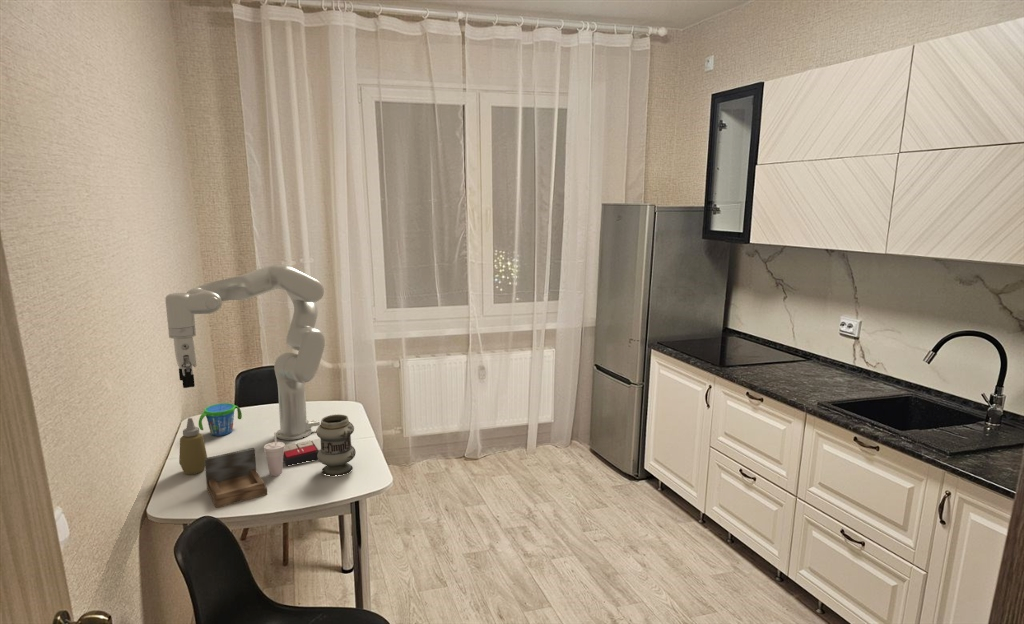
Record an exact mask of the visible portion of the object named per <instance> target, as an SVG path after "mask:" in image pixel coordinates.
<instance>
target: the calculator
mask: <svg viewBox="0 0 1024 624" xmlns="http://www.w3.org/2000/svg"><path fill="white" fill-rule="evenodd" d="M320 450H321V439H320V438H317V439H312V440H311V439H309V440H305V441H300V442H297V443H292V444H287V445H285V448H284V455H283V464H284V465H285V467H289V466H288V465H292V464H297V463H302V462H306V461H311V462H313V461H312V460H315V461H317V460H318V458H317V455H318V452H319V451H320ZM318 461H319V460H318ZM306 463H307V462H306ZM302 464H303V463H302ZM297 465H298V464H297ZM292 466H293V465H292Z"/></svg>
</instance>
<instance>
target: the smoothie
mask: <svg viewBox="0 0 1024 624" xmlns="http://www.w3.org/2000/svg"><path fill="white" fill-rule="evenodd" d="M276 432H277V431H276ZM276 432H274V433H273V434H274V441H273V442H269V443H266V444H264V446H263V452H264V453H265V457H266V461H267V467H268V473H269V476H270V477H278V476H281V475H282V474H283V467H284V466H283V465H284V461H283V455H284V448H285V446H286V444H285V442H282V441H278V439H277V436H276ZM281 473H282V474H281ZM280 474H281V475H280ZM277 475H278V476H277Z"/></svg>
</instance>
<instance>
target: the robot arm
mask: <svg viewBox="0 0 1024 624" xmlns="http://www.w3.org/2000/svg"><path fill="white" fill-rule="evenodd" d="M275 290H282V291H283V290H285V291H286V293H287V295H288V296H289V298H290V300H291V301H292V303H293V314H292V319H291V321H290V325H289V328H288V331H287V335H286V340H285V342H286V345H287V346H288V347H289V348H290V349H292V350H295V351H298V353H294V352H284V353H281V354H280V355H278V356H277V358H276V360H275V361H274V367H273V368H274V374H275V377H276V384H277V392H278V410H279V412H278V413H279V428H280V429H278V430H277V431H276V439H277V438H278V439H280V440H283V441H292V440H293V441H294V440H300V439H304V438H306V437H308V436H310V435H311V433H312V427H318V426H319V425H321V421H320V420H314V419H312V420H308V419H307V403H306V401H307V400H306V385H305V384H307V383H309V382H311V381H312V380H313V379H314V378H315V376H316V374H317V373H318V370H319V367H320V363H321V360H322V357H323V353H324V350H325V346H326V339H325V336H324V334H323V332H322V331H321V330H320V329H318V328H315V326H316V323H317V318H318V306H317V302H319V301H320V300H321V299H322V298H323V297H324V295H325V294H324V293H325V288H324V286H323V284H322V283H321V281H320V280H317V279H316V278H314V277H312V276H309V275H308V274H306V273H304V272H302V271H299V270H298V269H296V268H294V267H291V266H289V265H288V266H287V265H282V264H271V265H268V266H264V267H262V268H259V269H256V270H253V271H250V272H246V273H244V274H240V275H238V276H232V277H228V278H224V279H223V278H222V279H219V280H215V281H211V282H207V283H205V284H201V285H199V286H196V287H193V288H191V289H189V290H188V291H186V292H173V293H169V294H167V295H166V297H165V309H166V311H165V312H166V319H167V328H168V329H167V332H168V338H169V339H173V347H174V353H175V359H176V363H177V366H178V375H179V380H180V381H181V382H182V387H183V388H184V389H188V388H194V387H196V386H195V384H196V383H195V375H194V372H193V367H194V368H196V367H197V360H196V359H197V358H196V350H195V342H194V337H196V336H197V331H196V321H195V320H196V319H195V315H211V314H214V313H217V312H218V311H219V310H221V308H222V305H223V302H227V301H242V300H243V301H244V300H249V299H253V298H256V297H258V296H260V295H264V294H266V293H269V292H271V291H275ZM303 437H304V438H303Z"/></svg>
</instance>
